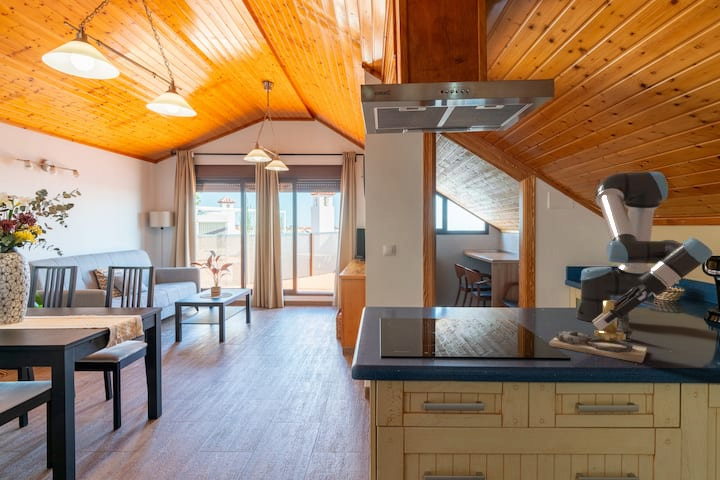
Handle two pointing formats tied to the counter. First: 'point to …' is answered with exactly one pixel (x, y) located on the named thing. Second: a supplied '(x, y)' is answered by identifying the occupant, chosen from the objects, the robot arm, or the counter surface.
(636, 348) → the gear board
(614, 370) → the counter surface
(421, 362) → the counter surface
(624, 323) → the stone chess piece
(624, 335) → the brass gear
